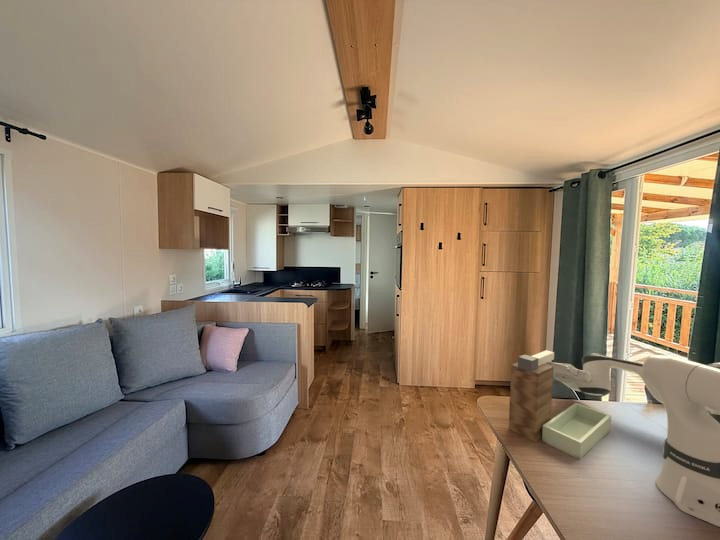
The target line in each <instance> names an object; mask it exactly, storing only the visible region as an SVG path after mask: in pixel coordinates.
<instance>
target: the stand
mask: <svg viewBox="0 0 720 540" xmlns="http://www.w3.org/2000/svg"><path fill="white" fill-rule="evenodd" d="M510 367H511V368H510V392H509V412H508V413H509V414H508V415H509V416H508V417H509V418H508V430H511V431H512V432H514V433H516V434H518V435H520V436H522V437H524V438H525V439H528V440H530V441H532V442H534V443H537V442H539V440H542V431H543V425H544V424H546V423H547V422H548V421H550V420H551V419H552V400H553V384H554V378H553V366H549V365H546V364H542V365H540V366H538V369H536V370H534V371H528V370H525V369H522V368H519V367H518V362H516V363H512V364H511V366H510Z"/></svg>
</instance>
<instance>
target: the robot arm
mask: <svg viewBox="0 0 720 540" xmlns="http://www.w3.org/2000/svg"><path fill="white" fill-rule="evenodd" d="M545 364H546V365H549V366H553V379H555V380H558V381H559V382H561V383H562V384H564V385H565V386H566V387H568V388H569V389H571V390H573V391H575V392H576V391H577V392H581V393H583V394H584V395H588V396H591V397H606V396H607V395H609V394H610V393H611V392H612V391H611V377H610V376H611V372H610V371H611V369H616V370H622V371H626V372H630V373H634V374H636V375H638V376H639V377H640V378H641V380H642V382H643V383H644V385H645V386H646V388H647V390H648V392H649V393H650V394H651V396H652V397H653V398H654V399H655V400H657V402H659V403H660V404H662V405H664V406H663V407H664V409H665V412H666V419H667V430H666V431H667V432H666V438H665V439H664V443H663V447H662V448H663V449H662V455H663V463H662V467H661V470H660V472H659V474H658V476H657V477H656V479H655V484H656V486H657V488H658V489H659V491H660V492H661V493H663V494H664V495H665V496H666V497H667V498H668V499H670V500H671V501H672V502H673V503H674V504H675V506H676V507H677V508H678V509H679V510H681V512H683V513H685V514H688V515H690V516H693V517H695V518H697V519H699V520H702V521H705V522H706V523H709V524H711V525H714V526H716V527H719V528H720V362H713V363H708V364H703V363H700V362H696V361H694V360H689V359H685V358H682V357H678V356H673V355H664V354H652V355H651V356H648V357H647V358H646V359H645V360H644V361H643V363H641V362H635V361H631V360H627V359H621V358H616V357H612V356H607V355H603V354H600V353H597V352H596V353H595V352H588V353H586V354H584V356H582V357H581V364H582V369H578V368H576V367H575V366H574V365H572V364H570V363H562V362H555V361H554V362H553V361H549V362H547V363H545ZM708 411H709V412H708Z"/></svg>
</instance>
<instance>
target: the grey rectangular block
mask: <svg viewBox="0 0 720 540" xmlns="http://www.w3.org/2000/svg"><path fill="white" fill-rule="evenodd" d="M553 360H555V351H551V350H547V349H546V350H543V351H541V352H539V353H536V354H533V355H528V354H523V355H519V356H518V357H517V363H518V367H519V368H522V369H525V370H528V371H534V370H536V369H538V366H540V365H542V364H545V363H547V362H549V361H550V362H552V361H553Z"/></svg>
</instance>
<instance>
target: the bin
mask: <svg viewBox="0 0 720 540" xmlns="http://www.w3.org/2000/svg"><path fill="white" fill-rule="evenodd" d="M611 425H612V415H611V414H608V413H606V412H602V411H600V410H597V409H594V408H592V407H589V406H586V405H584V404H580V403H578V402H574V403H573V404H571V405H570V406H569V407H567V408H566V409H564V410H562V412H559V414H557V415H556V416H554V417H553V418H551V420H550V421H548V422H547V423H546V424H544V425H543V431H542V438H541V441H542V443H543V442H544V443H545V444H548V445H549V446H551V447H553V448H555V449H557V450H559V451H562V452H563V453H565V454H567V455H569V456H571V457H574V458H575V459H578V460H579V461H581V460H582V459H581V458H582V457H583V458H584V457H585V456H586V455H588V453H590V451H591V450H592V449H593V448H594V447H595V446H596V445H597V444H598V443H599V442H600V441H602V439H603V438H604V437H605V436H606V435H607V434H608V433H610V432H611V429H612V428H611ZM580 459H581V460H580Z"/></svg>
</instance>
